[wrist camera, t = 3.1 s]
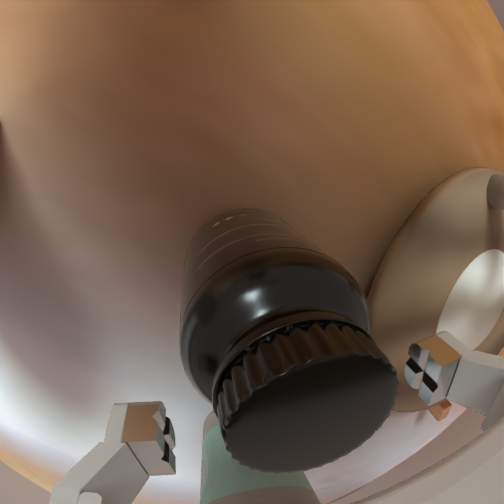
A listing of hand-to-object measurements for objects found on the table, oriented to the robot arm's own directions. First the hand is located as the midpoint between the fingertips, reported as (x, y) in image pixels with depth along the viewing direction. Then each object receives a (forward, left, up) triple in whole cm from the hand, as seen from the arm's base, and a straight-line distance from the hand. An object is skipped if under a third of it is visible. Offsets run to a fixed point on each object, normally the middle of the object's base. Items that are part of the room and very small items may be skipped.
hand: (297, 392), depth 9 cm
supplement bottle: (0, 0, -10) cm, 10 cm away
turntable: (+6, +18, -9) cm, 21 cm away
